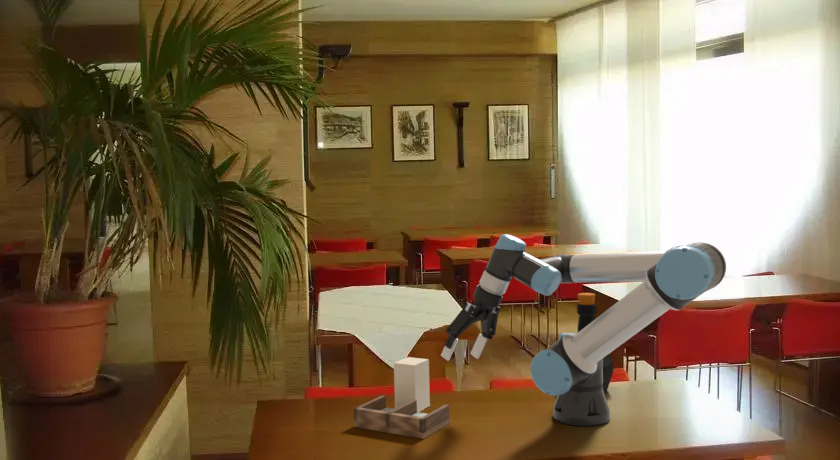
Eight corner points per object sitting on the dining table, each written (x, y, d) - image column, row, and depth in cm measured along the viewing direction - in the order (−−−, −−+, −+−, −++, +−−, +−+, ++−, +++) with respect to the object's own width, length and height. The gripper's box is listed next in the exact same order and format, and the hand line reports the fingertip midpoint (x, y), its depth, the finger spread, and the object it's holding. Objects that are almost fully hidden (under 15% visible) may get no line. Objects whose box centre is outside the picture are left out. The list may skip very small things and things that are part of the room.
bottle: (616, 384, 236) (616, 290, 235) (610, 399, 221) (609, 298, 219) (566, 381, 242) (565, 289, 240) (556, 394, 227) (555, 296, 225)
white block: (429, 406, 218) (428, 359, 217) (416, 414, 211) (414, 365, 210) (409, 403, 221) (408, 357, 220) (395, 411, 214) (393, 362, 214)
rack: (449, 423, 202) (449, 405, 202) (423, 438, 190) (423, 419, 190) (382, 412, 213) (382, 395, 213) (354, 426, 201) (353, 408, 201)
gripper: (506, 284, 213) (476, 348, 218) (453, 280, 194) (422, 351, 199) (525, 297, 209) (495, 362, 213) (474, 294, 190) (441, 366, 194)
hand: (459, 357), depth 206 cm, fingers open, 13 cm apart
